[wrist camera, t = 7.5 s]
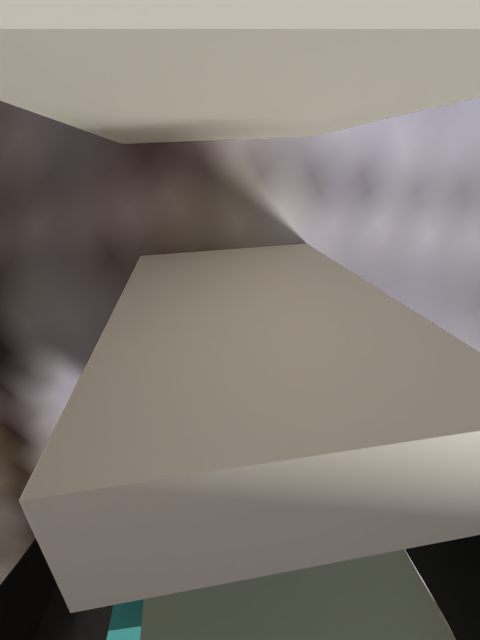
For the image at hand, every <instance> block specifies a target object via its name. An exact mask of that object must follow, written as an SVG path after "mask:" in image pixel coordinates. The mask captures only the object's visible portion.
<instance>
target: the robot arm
mask: <svg viewBox="0 0 480 640" xmlns="http://www.w3.org/2000/svg"><path fill="white" fill-rule="evenodd" d="M405 550H406V552H407V553H408V555H409V557H410V558H411V560H412V562H413V563H414V565H415V567H416V568H417V570H418V572H419V574H420V575H421V577H422V579H423V580H424V582H425V584H426V585H427V587H428V589H429V590H430V592H431V594H432V596H433V597H434V599H435V601H436V602H437V604H438V606H439V608H440V610H441V611H442V613H443V615H444V617H445V619H446V621H447V622H448V624H449V626H450V628H451V630H452V632H453V634H454V636H455V638H456V640H480V535H476V536H471V537H466V538H461V539H455V540H450V541H445V542H440V543H434V544H429V545H424V546H419V547H414V548H408V549H405ZM112 610H113V605H110V606H105V607H100V608H95V609H89V610H84V611H79V612H74V613H70V611H69V609H68V607H67V604H66V602H65V600H64V598H63V596H62V594H61V591H60V589H59V587H58V585H57V583H56V581H55V579H54V576H53V574H52V572H51V570H50V568H49V566H48V563H47V561H46V559H45V557H44V555H43V553H42V550H41V548H40V546H39V544H38V542H37V540H36V538H35V540H34V541H33V543H32V544H31V545H30V547H29V548H28V550H27V551H26V552H25V554H24V555H23V556H22V558H21V559H20V560H19V562H18V563H17V564H16V566H15V567H14V568H13V569H12V571H11V572H10V573H9V575H8V576H7V577H6V578H5V580H4V581H3V582H2V584H1V585H0V640H107V635H108V630H109V625H110V620H111V615H112Z"/></svg>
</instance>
